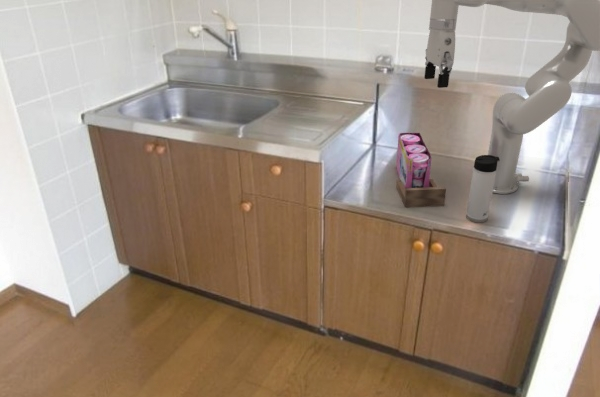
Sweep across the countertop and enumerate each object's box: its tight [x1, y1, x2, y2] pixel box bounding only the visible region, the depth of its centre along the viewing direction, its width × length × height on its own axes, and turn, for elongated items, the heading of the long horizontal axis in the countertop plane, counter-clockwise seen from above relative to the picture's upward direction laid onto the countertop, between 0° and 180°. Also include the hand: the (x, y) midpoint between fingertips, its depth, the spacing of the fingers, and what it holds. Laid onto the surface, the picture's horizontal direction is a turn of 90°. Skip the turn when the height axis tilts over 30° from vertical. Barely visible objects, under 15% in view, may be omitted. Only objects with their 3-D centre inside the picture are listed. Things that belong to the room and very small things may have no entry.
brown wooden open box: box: [395, 178, 447, 208], centre depth 162 cm, size 12×14×6 cm
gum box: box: [396, 132, 432, 189], centre depth 169 cm, size 24×8×14 cm, turn 178°
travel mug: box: [465, 154, 500, 224], centre depth 145 cm, size 6×7×20 cm
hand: (435, 82), depth 152 cm, fingers open, 9 cm apart
